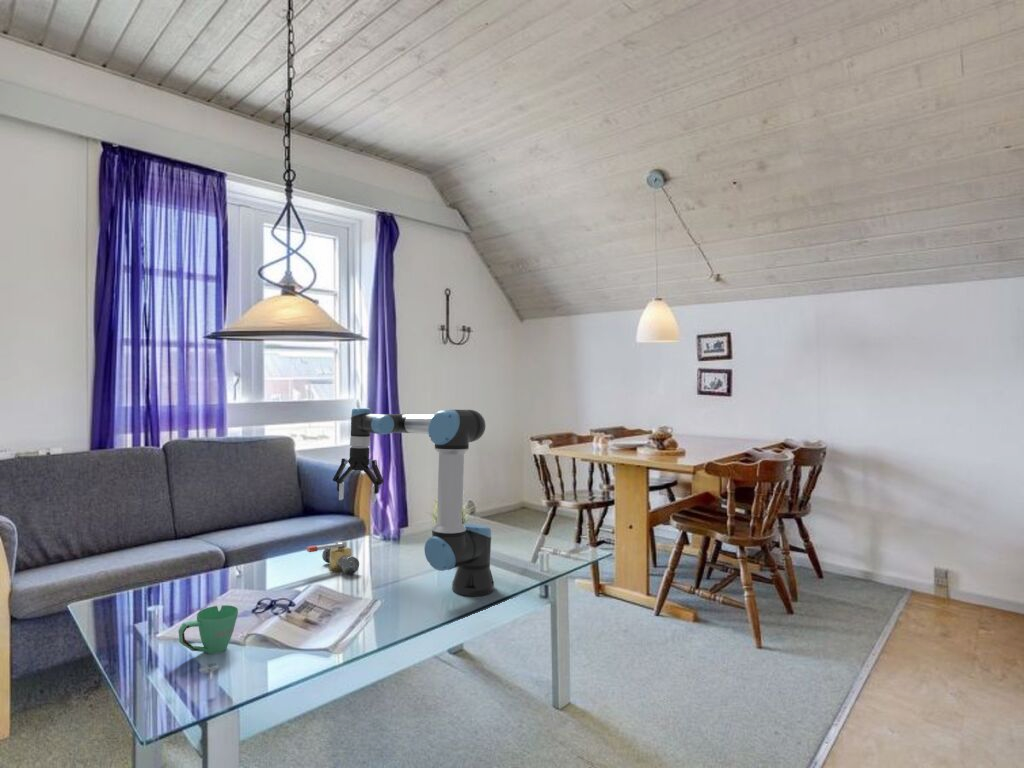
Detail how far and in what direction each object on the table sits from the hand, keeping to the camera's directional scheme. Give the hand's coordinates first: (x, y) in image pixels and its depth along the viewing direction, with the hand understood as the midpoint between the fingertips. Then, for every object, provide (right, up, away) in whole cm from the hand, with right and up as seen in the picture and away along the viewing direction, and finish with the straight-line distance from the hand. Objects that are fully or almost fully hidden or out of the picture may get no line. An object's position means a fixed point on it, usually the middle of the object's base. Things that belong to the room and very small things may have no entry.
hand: (357, 500), depth 227 cm
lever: (-10, -17, -5) cm, 21 cm away
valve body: (-6, -26, -2) cm, 27 cm away
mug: (-19, -25, -76) cm, 82 cm away
